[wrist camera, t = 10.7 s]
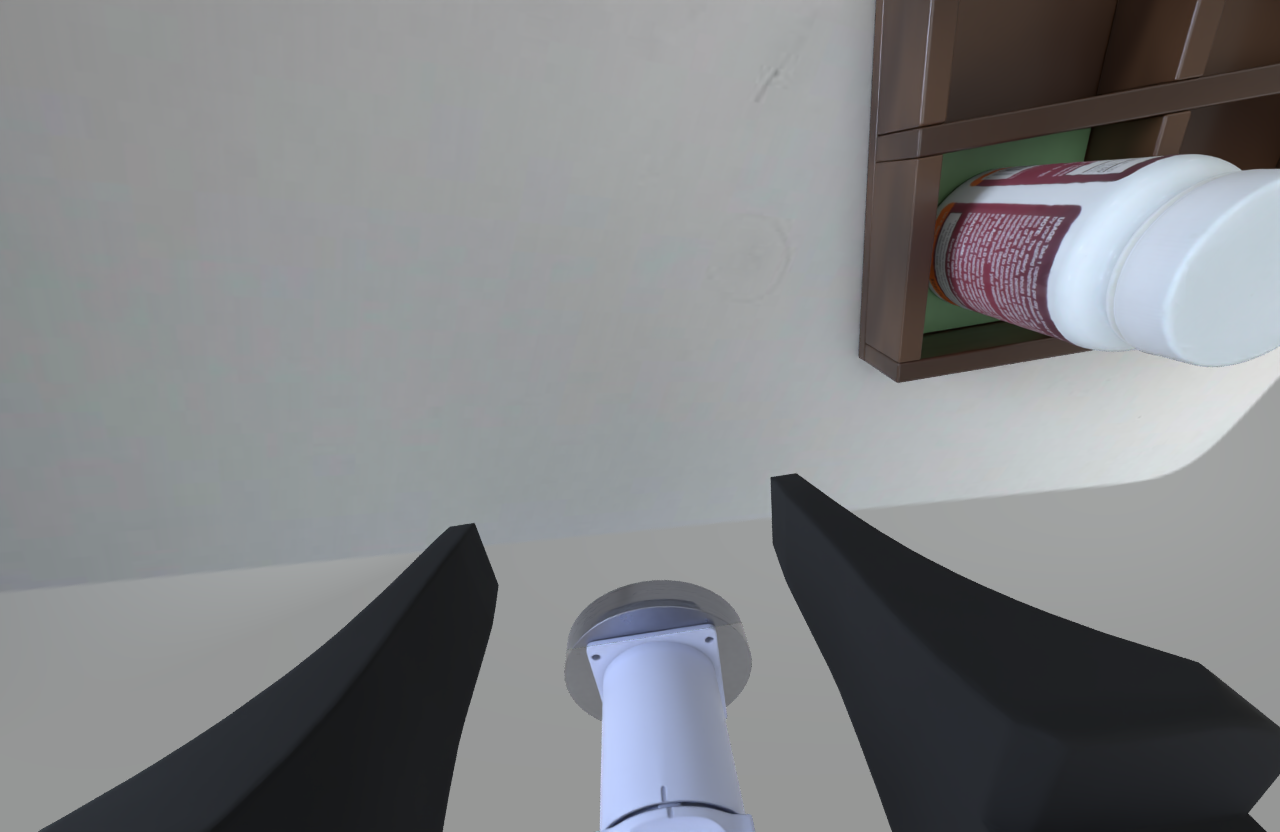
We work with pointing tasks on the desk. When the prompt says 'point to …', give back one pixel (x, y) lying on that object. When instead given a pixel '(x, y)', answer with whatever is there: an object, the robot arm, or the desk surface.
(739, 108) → the desk surface
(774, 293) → the desk surface
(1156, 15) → the tray
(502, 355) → the desk surface
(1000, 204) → the pill bottle
